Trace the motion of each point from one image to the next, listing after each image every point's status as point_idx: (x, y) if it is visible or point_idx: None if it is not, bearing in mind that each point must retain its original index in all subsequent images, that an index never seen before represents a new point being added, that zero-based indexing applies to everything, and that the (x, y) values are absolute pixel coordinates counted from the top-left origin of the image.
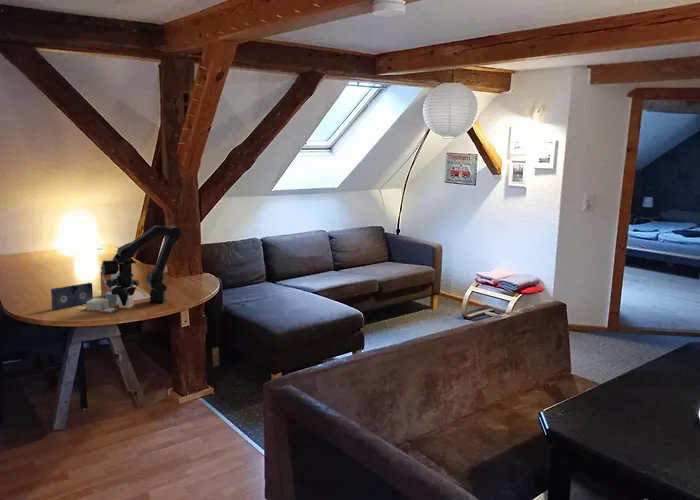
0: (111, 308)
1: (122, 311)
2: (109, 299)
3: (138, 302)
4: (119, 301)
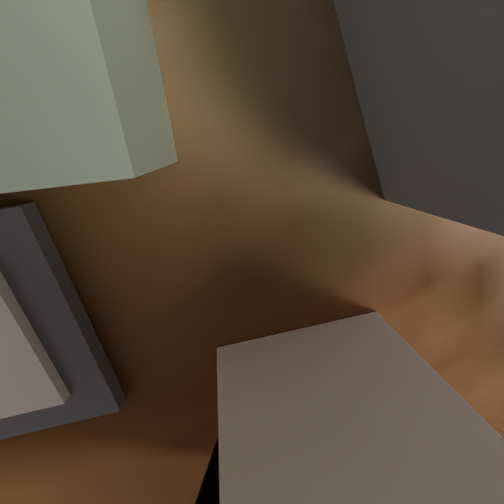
0: (6, 364)
1: (76, 479)
2: (428, 20)
3: (480, 406)
4: (221, 458)
